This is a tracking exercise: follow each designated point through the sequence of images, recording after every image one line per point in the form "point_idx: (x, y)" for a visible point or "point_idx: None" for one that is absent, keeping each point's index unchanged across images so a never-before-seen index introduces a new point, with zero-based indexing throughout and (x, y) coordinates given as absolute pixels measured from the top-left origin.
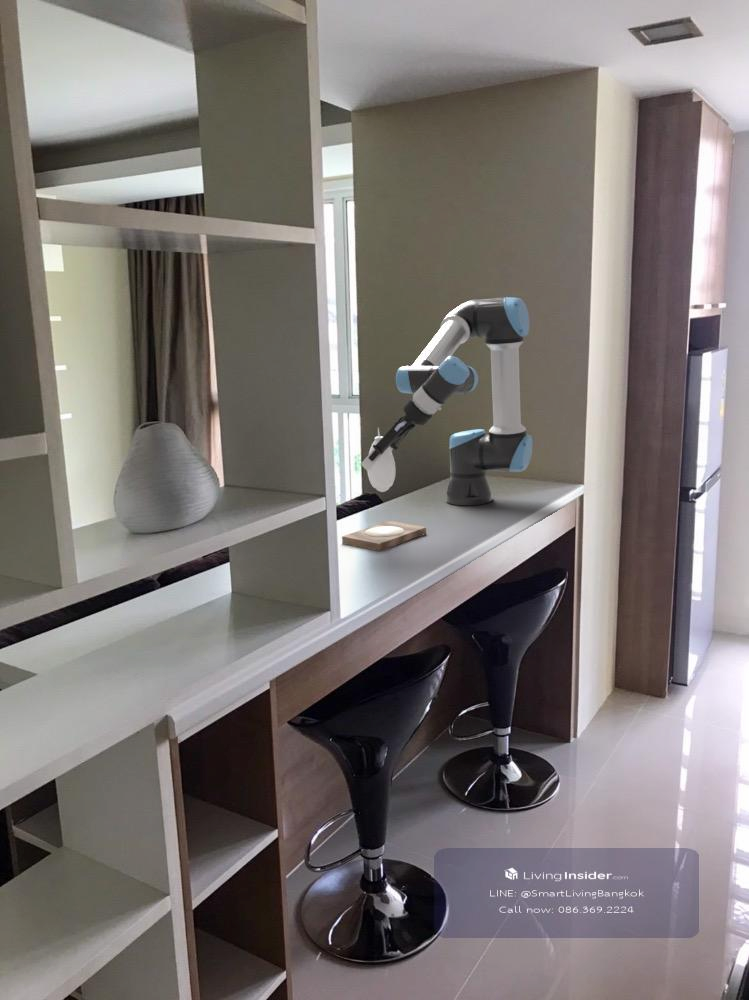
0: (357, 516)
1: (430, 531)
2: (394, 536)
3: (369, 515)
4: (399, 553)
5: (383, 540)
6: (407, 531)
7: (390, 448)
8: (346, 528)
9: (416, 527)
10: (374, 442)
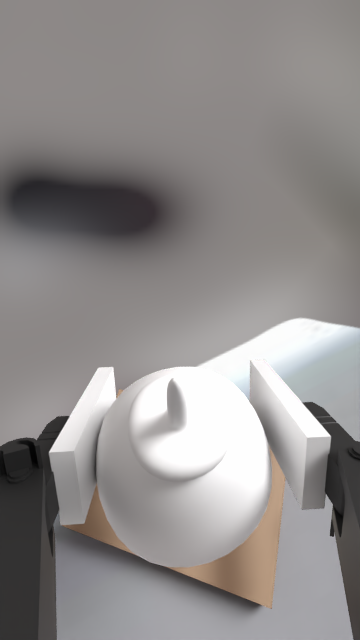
0: (333, 327)
1: (298, 602)
2: None
3: (355, 347)
4: None
5: (96, 522)
6: None
7: (302, 490)
8: (236, 348)
9: (256, 569)
10: (131, 400)
